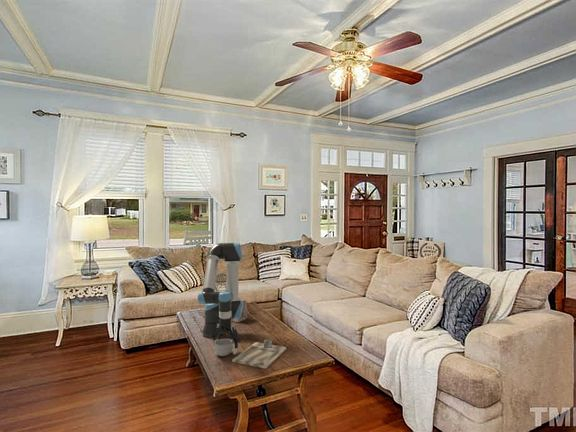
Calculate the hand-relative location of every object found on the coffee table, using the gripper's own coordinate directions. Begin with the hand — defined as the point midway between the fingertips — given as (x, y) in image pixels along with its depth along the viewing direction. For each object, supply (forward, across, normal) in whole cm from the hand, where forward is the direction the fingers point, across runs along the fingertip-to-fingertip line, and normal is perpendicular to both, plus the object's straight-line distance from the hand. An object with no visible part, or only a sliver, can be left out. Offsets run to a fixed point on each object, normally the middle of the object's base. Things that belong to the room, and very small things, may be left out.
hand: (225, 351), depth 204 cm
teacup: (+2, 0, 0) cm, 2 cm away
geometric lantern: (+1, -47, +64) cm, 79 cm away
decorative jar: (+2, -28, +57) cm, 64 cm away
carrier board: (+1, +21, +6) cm, 22 cm away
